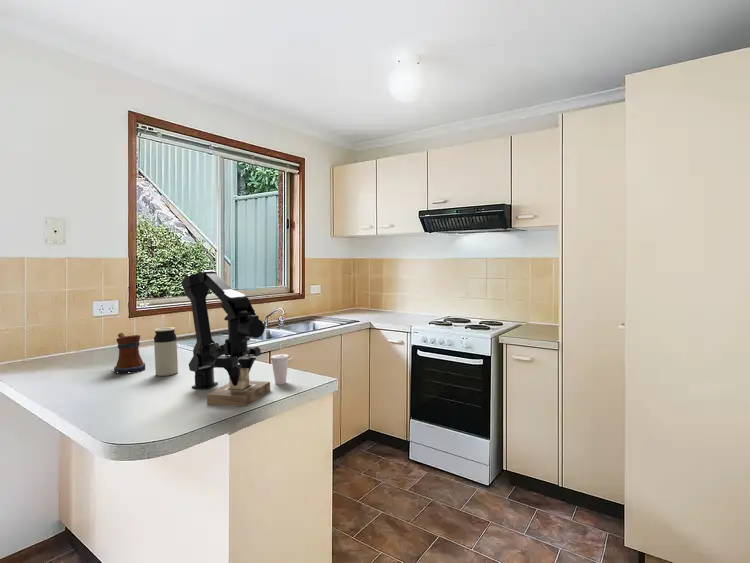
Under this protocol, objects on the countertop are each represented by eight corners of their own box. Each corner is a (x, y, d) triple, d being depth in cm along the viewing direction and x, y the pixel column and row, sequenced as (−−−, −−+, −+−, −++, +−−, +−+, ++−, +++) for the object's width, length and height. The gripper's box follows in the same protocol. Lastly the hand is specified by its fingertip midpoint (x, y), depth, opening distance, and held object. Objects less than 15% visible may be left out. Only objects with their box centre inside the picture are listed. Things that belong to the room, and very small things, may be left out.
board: (235, 388, 148) (235, 379, 148) (270, 390, 145) (269, 381, 145) (207, 404, 132) (206, 393, 132) (245, 406, 130) (245, 395, 129)
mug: (107, 368, 182) (105, 333, 181) (137, 363, 190) (135, 329, 189) (117, 376, 169) (115, 338, 168) (149, 370, 177) (147, 334, 176)
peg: (237, 394, 141) (236, 367, 141) (249, 395, 140) (248, 368, 140) (230, 399, 137) (228, 371, 137) (242, 400, 136) (241, 372, 136)
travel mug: (172, 376, 166) (170, 330, 166) (151, 376, 166) (149, 330, 166) (181, 371, 174) (179, 326, 174) (161, 371, 174) (159, 327, 174)
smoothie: (293, 382, 155) (292, 343, 154) (280, 386, 149) (278, 346, 149) (281, 379, 158) (279, 341, 158) (267, 383, 153) (266, 344, 152)
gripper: (231, 329, 149) (232, 374, 149) (197, 339, 131) (199, 390, 131) (260, 330, 146) (262, 375, 147) (230, 340, 128) (232, 392, 129)
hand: (239, 383), depth 139 cm, fingers open, 5 cm apart
